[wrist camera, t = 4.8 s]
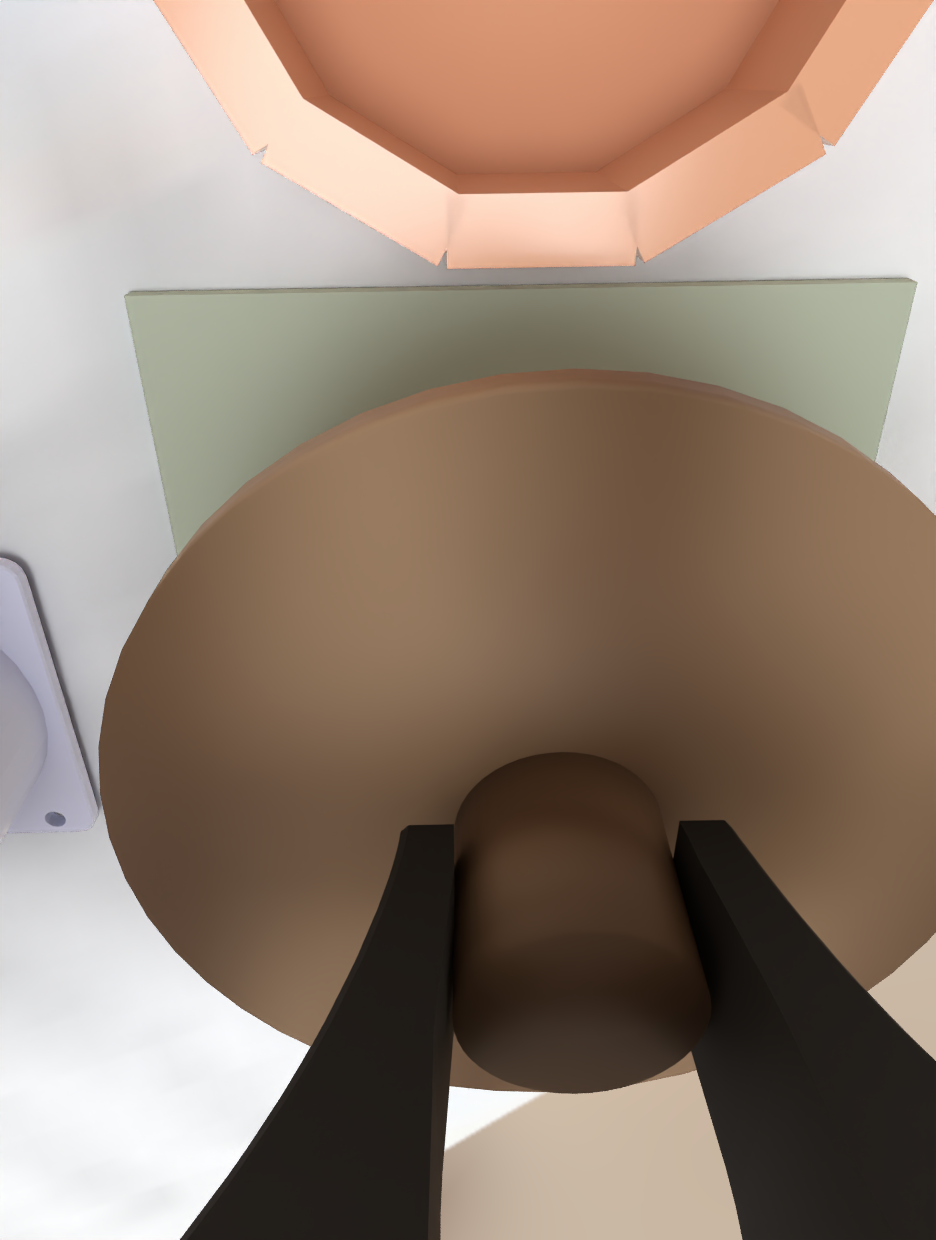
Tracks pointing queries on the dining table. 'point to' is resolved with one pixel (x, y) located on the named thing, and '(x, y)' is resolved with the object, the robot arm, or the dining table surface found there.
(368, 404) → the rubber mat
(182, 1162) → the dining table surface
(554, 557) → the walnut lid
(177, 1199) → the dining table surface
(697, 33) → the terracotta bowl
